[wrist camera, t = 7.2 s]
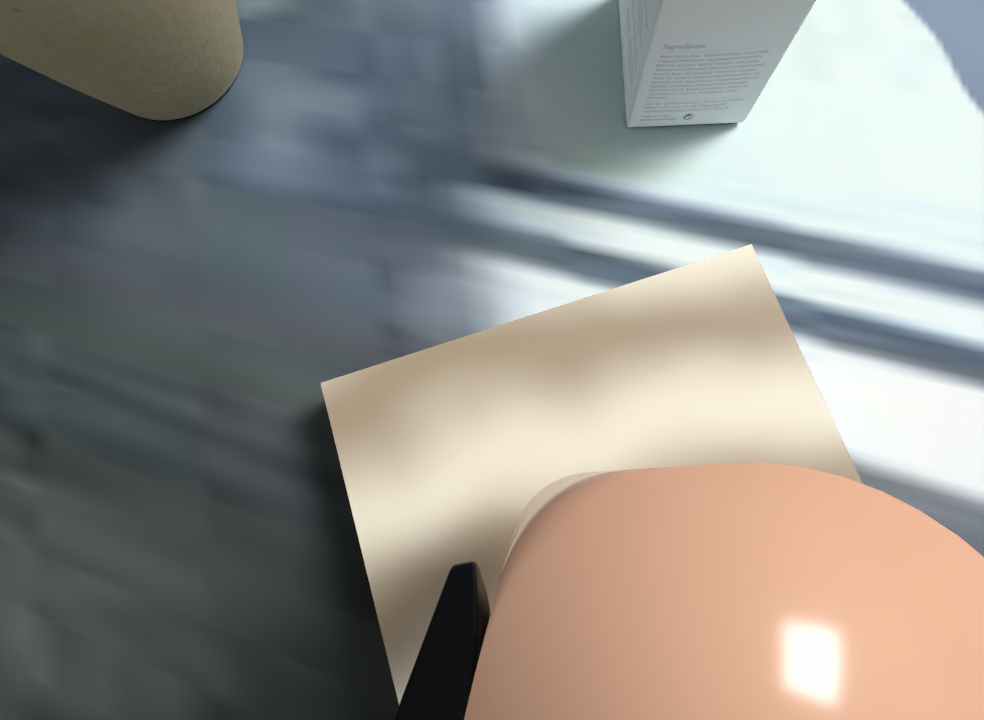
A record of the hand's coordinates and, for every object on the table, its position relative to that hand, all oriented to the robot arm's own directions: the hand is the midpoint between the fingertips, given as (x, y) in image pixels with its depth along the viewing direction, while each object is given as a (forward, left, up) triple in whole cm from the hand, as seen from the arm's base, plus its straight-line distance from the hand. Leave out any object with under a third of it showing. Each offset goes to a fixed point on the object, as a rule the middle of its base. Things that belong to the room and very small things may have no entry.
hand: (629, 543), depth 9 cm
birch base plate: (-2, -1, -13) cm, 14 cm away
